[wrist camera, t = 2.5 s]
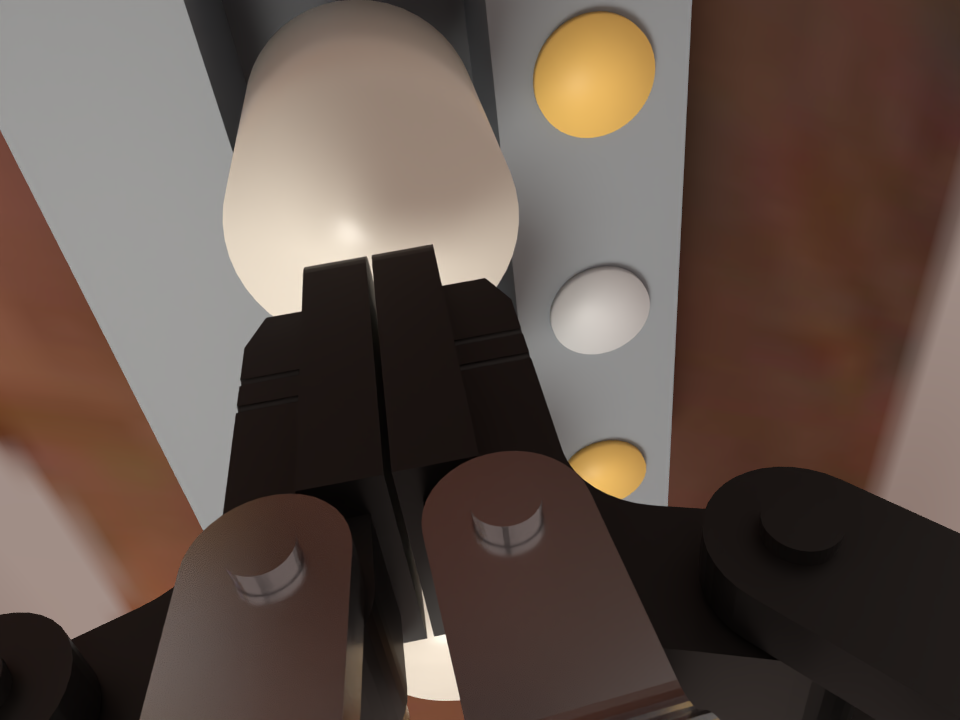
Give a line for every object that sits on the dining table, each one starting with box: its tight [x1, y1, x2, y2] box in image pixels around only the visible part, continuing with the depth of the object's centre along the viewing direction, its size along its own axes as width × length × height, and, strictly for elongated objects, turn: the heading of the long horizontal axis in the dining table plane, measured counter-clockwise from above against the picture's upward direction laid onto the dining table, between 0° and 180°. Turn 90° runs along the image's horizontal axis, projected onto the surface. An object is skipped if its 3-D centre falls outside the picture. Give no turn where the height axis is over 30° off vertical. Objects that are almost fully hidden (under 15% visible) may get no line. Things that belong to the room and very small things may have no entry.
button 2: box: [223, 0, 519, 316], centre depth 13 cm, size 4×4×4 cm
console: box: [0, 0, 692, 531], centre depth 19 cm, size 18×12×4 cm, turn 7°
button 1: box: [403, 591, 460, 701], centre depth 19 cm, size 4×4×4 cm
